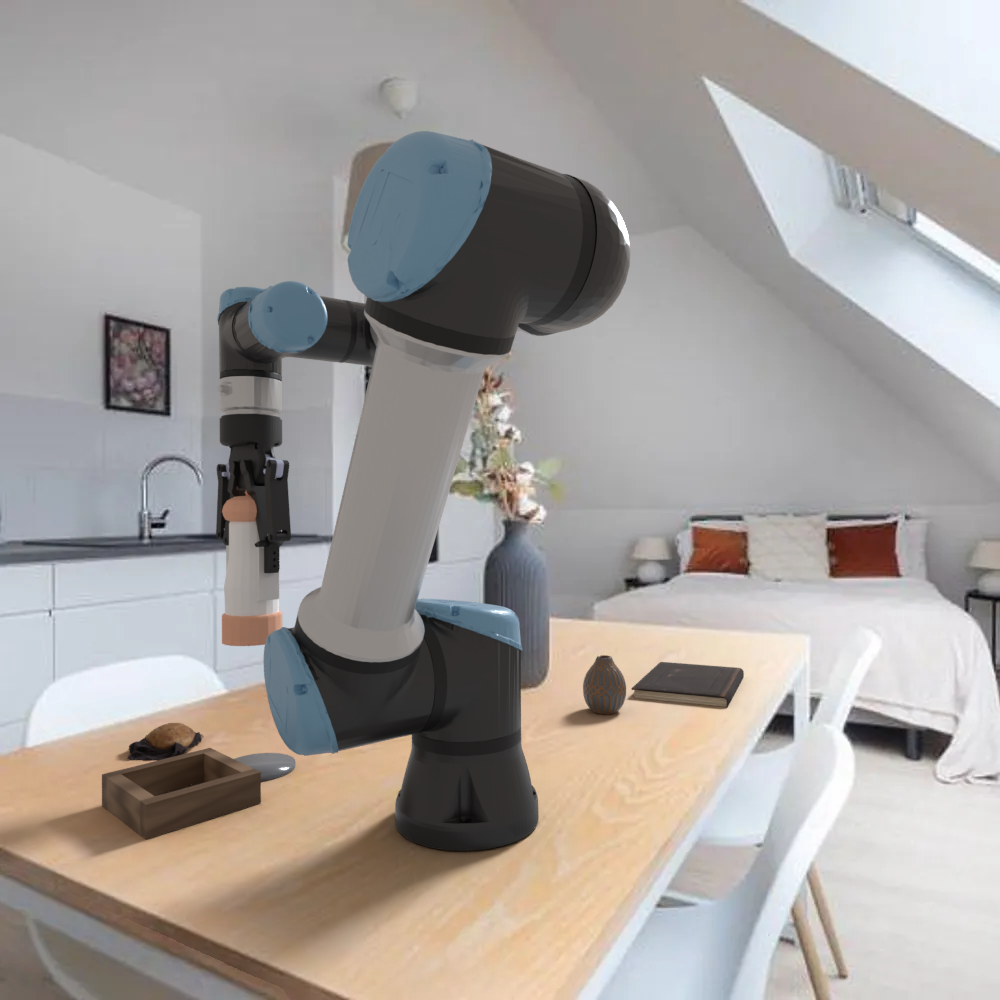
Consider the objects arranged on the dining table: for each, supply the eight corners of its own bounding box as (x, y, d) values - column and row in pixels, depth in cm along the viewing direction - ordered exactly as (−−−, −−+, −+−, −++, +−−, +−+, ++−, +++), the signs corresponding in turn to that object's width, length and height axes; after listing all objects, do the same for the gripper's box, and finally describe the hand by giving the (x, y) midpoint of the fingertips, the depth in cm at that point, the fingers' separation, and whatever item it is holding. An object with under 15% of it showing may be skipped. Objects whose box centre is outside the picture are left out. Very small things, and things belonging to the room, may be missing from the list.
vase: (634, 710, 121) (634, 656, 121) (610, 719, 116) (609, 663, 116) (599, 703, 126) (599, 650, 126) (574, 711, 121) (574, 657, 121)
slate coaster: (308, 768, 95) (308, 763, 95) (242, 788, 89) (242, 783, 89) (272, 752, 102) (272, 748, 102) (207, 770, 95) (207, 765, 95)
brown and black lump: (151, 740, 109) (151, 715, 110) (209, 739, 110) (209, 714, 110) (116, 765, 99) (116, 737, 99) (182, 763, 99) (181, 735, 99)
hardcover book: (631, 701, 129) (631, 687, 129) (660, 673, 150) (660, 661, 150) (728, 710, 123) (727, 696, 123) (743, 680, 144) (743, 668, 144)
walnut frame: (260, 803, 84) (260, 772, 84) (146, 839, 75) (145, 804, 75) (210, 775, 93) (210, 747, 93) (101, 805, 84) (101, 774, 84)
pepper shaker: (217, 647, 90) (216, 488, 90) (225, 637, 97) (224, 489, 97) (280, 644, 92) (279, 488, 92) (284, 634, 99) (283, 489, 99)
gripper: (186, 419, 99) (187, 594, 98) (265, 404, 85) (266, 607, 85) (239, 423, 104) (240, 589, 104) (321, 410, 91) (322, 600, 91)
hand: (252, 597), depth 95 cm, fingers closed on pepper shaker, 7 cm apart
